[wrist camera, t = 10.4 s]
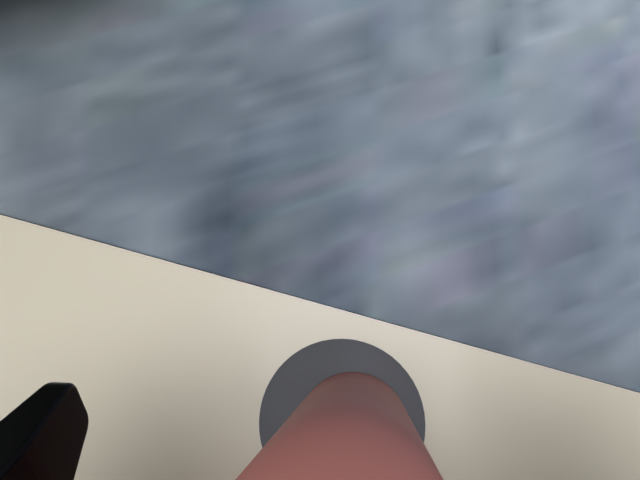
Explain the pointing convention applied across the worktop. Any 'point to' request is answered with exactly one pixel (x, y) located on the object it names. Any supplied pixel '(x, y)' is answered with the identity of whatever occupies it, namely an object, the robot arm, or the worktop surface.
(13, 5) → the worktop surface
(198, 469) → the card
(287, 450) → the pink rounded part
